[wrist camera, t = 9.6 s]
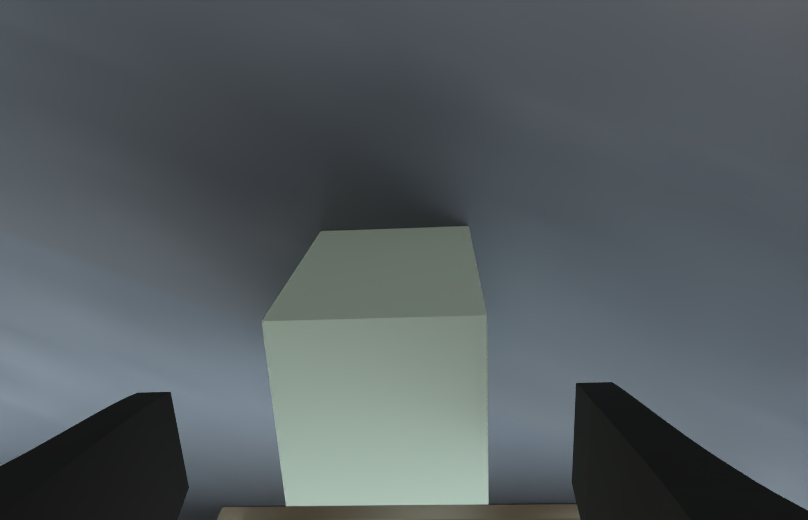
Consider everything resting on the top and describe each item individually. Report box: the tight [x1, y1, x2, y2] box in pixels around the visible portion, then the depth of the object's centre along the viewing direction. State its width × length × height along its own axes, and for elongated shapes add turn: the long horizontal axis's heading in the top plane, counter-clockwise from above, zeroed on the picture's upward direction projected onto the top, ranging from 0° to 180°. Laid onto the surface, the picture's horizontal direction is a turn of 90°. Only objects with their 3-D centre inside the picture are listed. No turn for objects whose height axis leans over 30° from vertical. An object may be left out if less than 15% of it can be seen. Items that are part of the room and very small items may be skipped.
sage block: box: [261, 226, 489, 506], centre depth 14 cm, size 4×4×6 cm
